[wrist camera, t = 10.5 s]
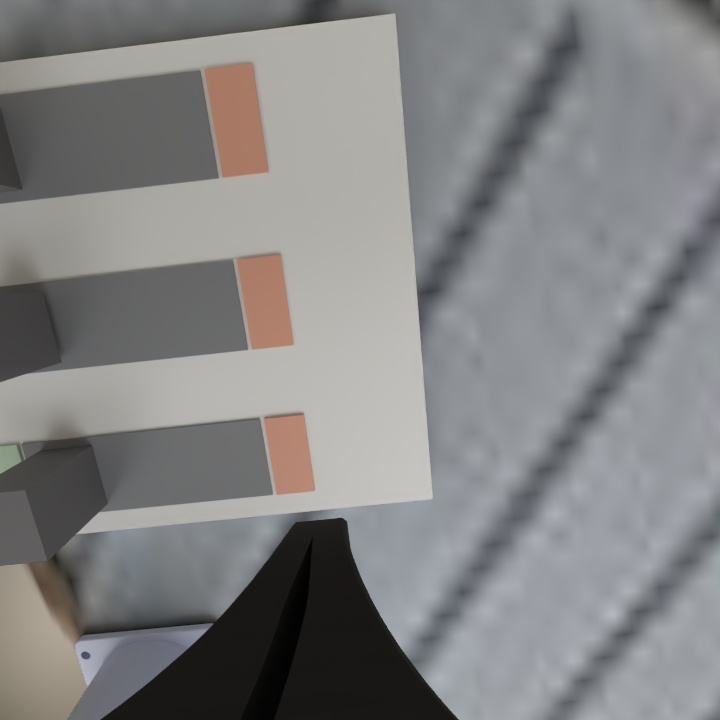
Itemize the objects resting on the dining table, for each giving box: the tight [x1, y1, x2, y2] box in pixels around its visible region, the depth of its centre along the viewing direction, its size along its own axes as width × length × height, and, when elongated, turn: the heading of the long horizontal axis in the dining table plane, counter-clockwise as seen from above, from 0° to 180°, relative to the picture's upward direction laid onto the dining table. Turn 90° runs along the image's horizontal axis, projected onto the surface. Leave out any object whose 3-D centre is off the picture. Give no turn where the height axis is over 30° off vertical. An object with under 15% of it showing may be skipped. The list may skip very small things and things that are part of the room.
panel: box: [0, 14, 433, 566], centre depth 17 cm, size 20×26×6 cm
